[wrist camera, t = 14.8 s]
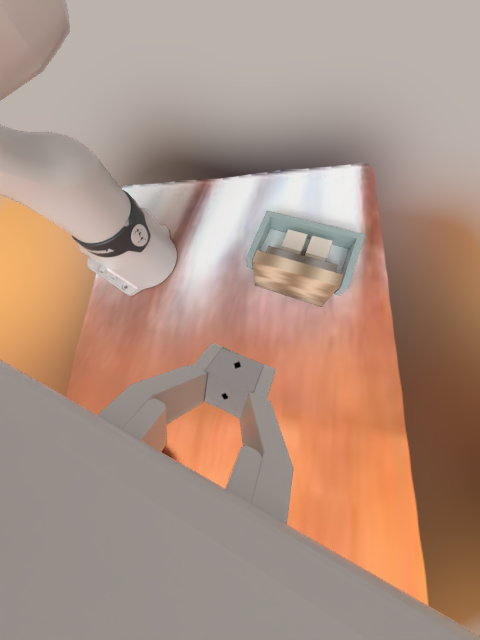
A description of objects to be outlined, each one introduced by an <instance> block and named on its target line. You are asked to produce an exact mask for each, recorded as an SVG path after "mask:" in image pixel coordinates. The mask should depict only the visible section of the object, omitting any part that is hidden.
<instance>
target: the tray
mask: <svg viewBox="0 0 480 640" xmlns="http://www.w3.org/2000/svg"><path fill="white" fill-rule="evenodd" d="M270 228H271V229H275V230H279V231H283V232H287V231H288V229H289V230H293V231H297V232H300V233H304V234H308V235H307V238H310V239H311V238H312V236H316V237H320V238H324V239H328V240H331V241H333V242H332V244H333V245H337V246H340V247H344V248H348V249H349V251H348V254H347V257H346V260H345V263H344V266H343V269H342V272H341V274H342V275H343V278H342V281H341V284H340V287H339V288H338V289H337V290H336V291H335V294H336V295H339V296H341V295H342V294H343V293H344V292H345V291H346V290H347V289H348V287H349V284H350V281H351V277H352V274H353V271H354V268H355V265H356V261H357V258H358V255H359V252H360V249H361V246H362V242H363V239H364V236H365V234H361V233H357V232H353V231H349V230H345V229H341V228H337V227H332V226H328V225H324V224H320V223H316V222H312V221H308V220H304V219H299V218H295V217H291V216H287V215H283V214H279V213H275V212H271V211H267V212H266V214H265V217H264V219H263V221H262V223H261V226H260V228H259V230H258V232H257V235H256V237H255V239H254V242H253V244H252V246H251V248H250V251H249V253H248V255H247V257H246V260H247V267H249V268H253V258H254V256H255V254H256V251H257V250H259V251H260V250H261V248H262V246H263V243H264V241H265V239H266V236H267V234H268V232H269V229H270Z"/></svg>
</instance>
